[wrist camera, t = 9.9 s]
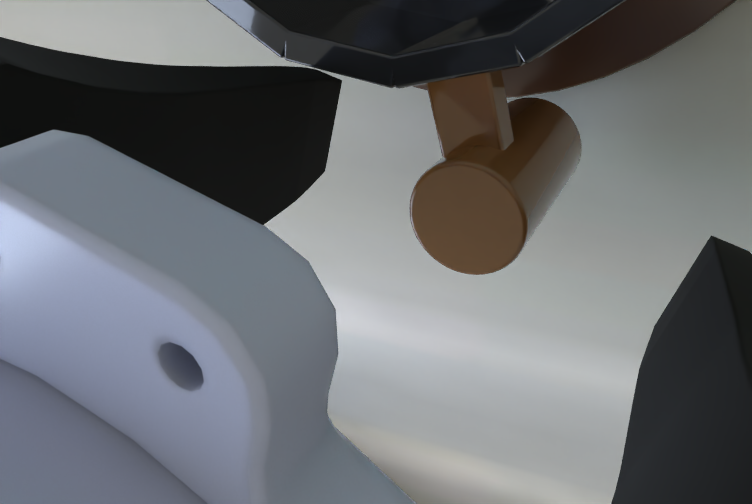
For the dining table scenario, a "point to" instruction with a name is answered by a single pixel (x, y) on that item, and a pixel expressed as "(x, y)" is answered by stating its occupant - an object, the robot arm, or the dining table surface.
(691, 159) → the dining table surface
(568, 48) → the turntable
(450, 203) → the cooking pot
